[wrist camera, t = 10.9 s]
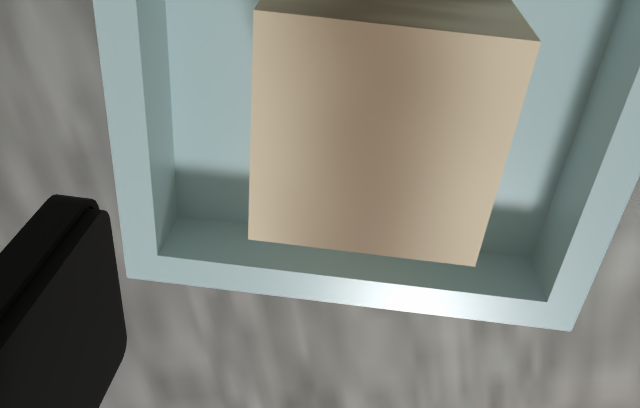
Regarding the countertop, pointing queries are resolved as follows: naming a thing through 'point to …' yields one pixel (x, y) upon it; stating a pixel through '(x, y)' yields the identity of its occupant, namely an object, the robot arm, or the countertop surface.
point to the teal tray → (351, 267)
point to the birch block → (384, 122)
